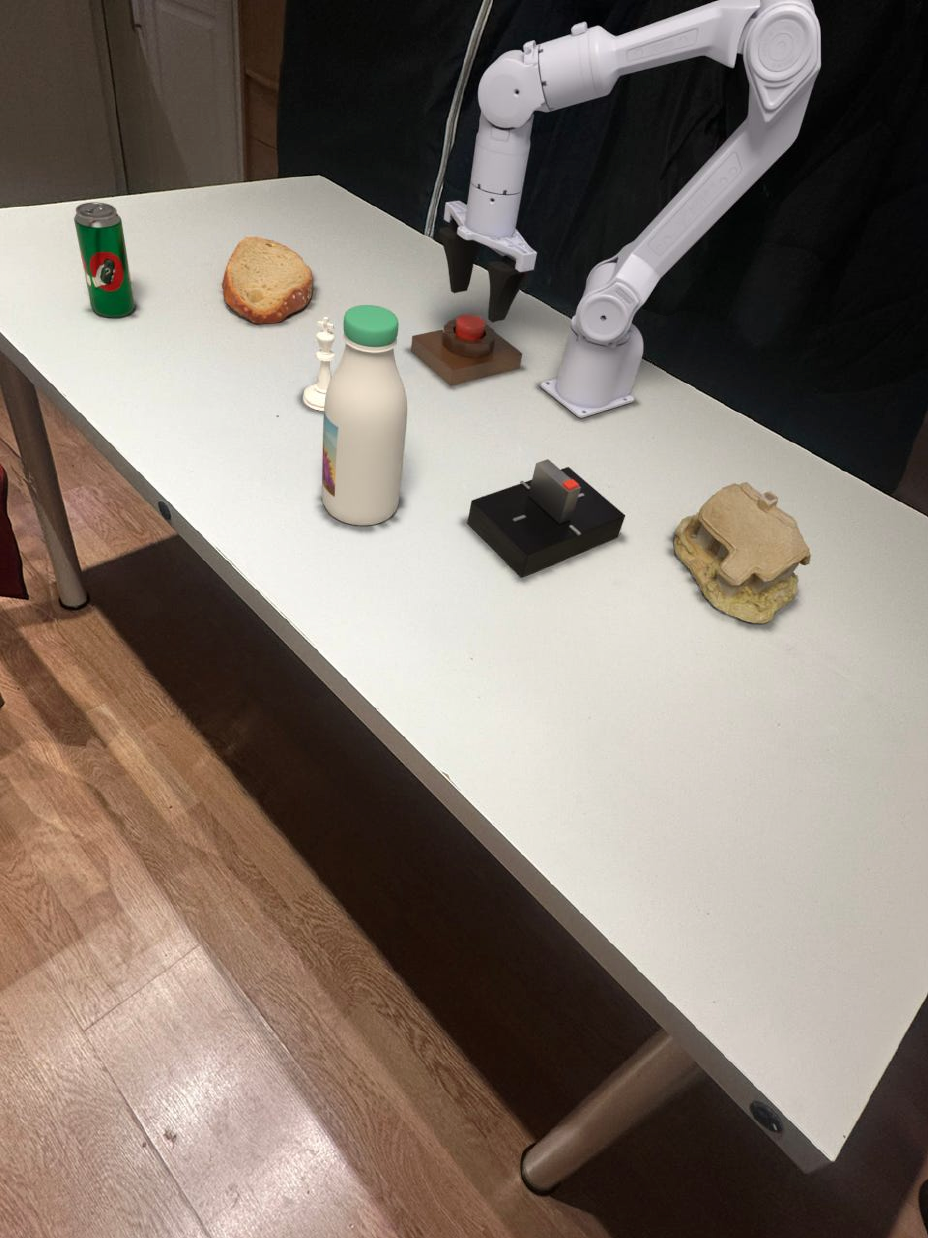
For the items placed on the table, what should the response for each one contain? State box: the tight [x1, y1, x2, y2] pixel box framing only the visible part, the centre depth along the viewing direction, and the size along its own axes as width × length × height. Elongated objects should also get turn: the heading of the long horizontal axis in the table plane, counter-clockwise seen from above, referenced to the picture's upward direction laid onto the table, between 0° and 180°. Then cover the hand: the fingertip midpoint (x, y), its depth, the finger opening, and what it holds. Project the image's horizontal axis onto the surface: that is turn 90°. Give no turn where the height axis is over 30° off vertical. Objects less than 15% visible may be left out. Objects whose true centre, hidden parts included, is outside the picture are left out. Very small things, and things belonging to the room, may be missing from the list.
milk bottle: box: [321, 304, 408, 526], centre depth 76 cm, size 8×8×20 cm
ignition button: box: [455, 313, 486, 340], centre depth 102 cm, size 4×4×2 cm
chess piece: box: [302, 316, 336, 412], centre depth 91 cm, size 5×5×10 cm
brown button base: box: [410, 318, 523, 387], centre depth 104 cm, size 11×9×4 cm
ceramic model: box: [673, 481, 812, 624], centre depth 80 cm, size 14×11×10 cm
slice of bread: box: [221, 236, 314, 325], centre depth 111 cm, size 18×18×4 cm
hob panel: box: [466, 466, 626, 578], centre depth 83 cm, size 13×9×3 cm
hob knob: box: [528, 458, 581, 524], centre depth 80 cm, size 5×2×4 cm, turn 36°
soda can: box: [73, 201, 136, 319], centre depth 98 cm, size 5×5×12 cm
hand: (477, 304), depth 99 cm, fingers open, 7 cm apart
